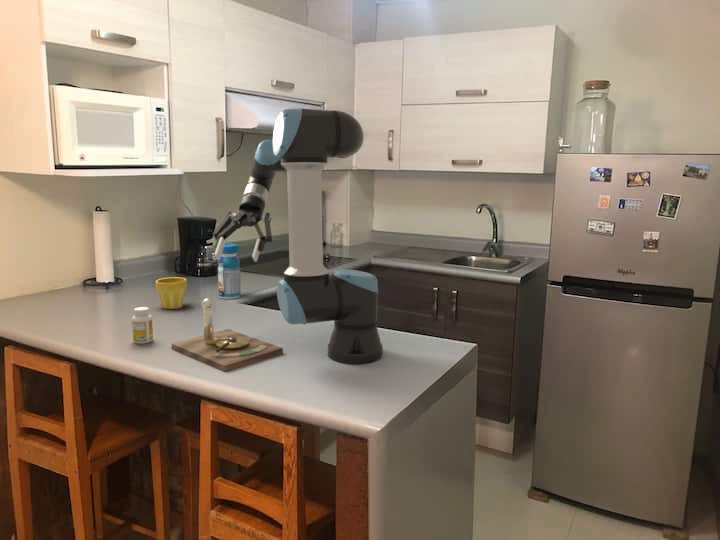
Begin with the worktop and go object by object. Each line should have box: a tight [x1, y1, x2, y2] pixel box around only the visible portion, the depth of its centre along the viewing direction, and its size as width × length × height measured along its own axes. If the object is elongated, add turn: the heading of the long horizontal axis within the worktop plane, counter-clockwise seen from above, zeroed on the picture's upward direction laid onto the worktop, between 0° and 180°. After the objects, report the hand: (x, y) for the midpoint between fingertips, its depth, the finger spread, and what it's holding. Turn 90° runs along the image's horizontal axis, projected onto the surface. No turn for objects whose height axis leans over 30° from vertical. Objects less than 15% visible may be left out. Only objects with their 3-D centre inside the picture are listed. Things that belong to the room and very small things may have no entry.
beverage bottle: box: [217, 243, 242, 300], centre depth 219 cm, size 8×8×20 cm
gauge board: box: [171, 328, 284, 372], centre depth 161 cm, size 25×19×2 cm
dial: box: [201, 298, 249, 352], centre depth 159 cm, size 13×13×13 cm
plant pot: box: [155, 276, 188, 310], centre depth 205 cm, size 10×10×10 cm
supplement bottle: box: [131, 306, 154, 344], centre depth 167 cm, size 5×5×10 cm
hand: (235, 258), depth 172 cm, fingers open, 11 cm apart
